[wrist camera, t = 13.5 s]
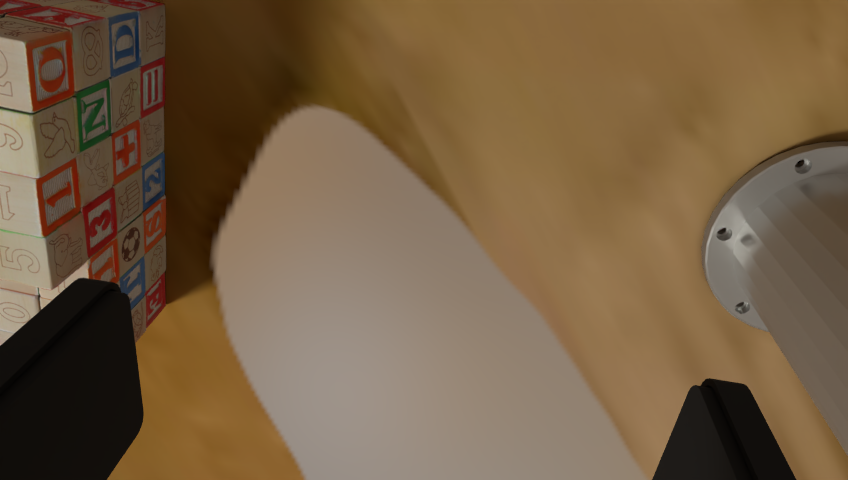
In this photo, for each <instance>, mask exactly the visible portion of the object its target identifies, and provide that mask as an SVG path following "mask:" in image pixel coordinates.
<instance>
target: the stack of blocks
mask: <svg viewBox="0 0 848 480" xmlns="http://www.w3.org/2000/svg"><path fill="white" fill-rule="evenodd" d="M164 105H165V5H164V4H162V3H158V2H153V1H148V0H0V345H2V344H3V343H4V342H5V341H6V340H7V339H8V338H10V337H11V336H12V335H13V334H14V333H15V332H16V331H18V330H19V329H20V328H21V327H22V326H23V325H24V324H26V323H27V322H28V321H29V320H30V319H31V318H32V317H34V316H35V315H36V314H37V313H38V312H39V311H40V310H42V309H43V308H44V307H45V306H46V305H47V304H48V303H50V302H51V301H52V300H53V299H54V298H55V297H56V296H57V295H59V294H60V293H61V292H62V291H63V290H64V289H65V288H67V287H68V286H69V285H70V284H71V283H72V282H73V281H75V280H77V279H78V278H89V279H95V280H102V281H108V282H114V283H116V284H118V285H119V287H120V289H121V293H125V294H127V295H128V296H129V299H130V305H131V313H132V322H133V330H134V338H135V343H136V342H137V340H138V339H139V338H140V337H141V336H142V335H143V333H144V332H145V331H146V328H147V327H148V326H149V325H150V324H151V323H152V321H153V320H154V319H155V318H156V317H157V316H158V314H159V313H160V312H161V311H162V309H163V308H164V307H165V306H166V299H165V270H166V236H165V233H166V196H165V194H164V193H165V154H164Z"/></svg>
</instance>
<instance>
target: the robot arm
mask: <svg viewBox="0 0 848 480" xmlns="http://www.w3.org/2000/svg"><path fill="white" fill-rule="evenodd" d="M800 160H801V162H800V163H799V164H797V162H798V161H800ZM796 164H797V165H796ZM722 228H723V229H722ZM720 229H722V230H721V231H719V230H720ZM701 248H702V266H703V270H704V274H705V277H706V280H707V282H708V284H709V286H710V288H711V290H712V292H713V294H714V295H715V297H716V298H717V299H718V301H719V302H720V303H721V305H722V306H723V307H724V308H725V309H726V310H727V311H728V312H729V313H730V314H731V315H733V316H734V317H735V318H737V319H739V320H741V321H742V322H744V323H746V324H748V325H750V326H752V327H755V328H758V329H761V330H764V331H767V332H770V334H771V335H772V337H773V339H774V340H775V342H776V343H777V345H778V346H779V348H780V350H781V351H782V353H783V354H784V356H785V357H786V359H787V361H788V362H789V364H790V365H791V367H792V369H793V370H794V372H795V373H796V375H797V376H798V378H799V380H800V381H801V383H802V384H803V386H804V388H805V389H806V391H807V392H808V394H809V395H810V397H811V399H812V400H813V402H814V403H815V405H816V406H817V408H818V410H819V411H820V413H821V414H822V416H823V418H824V419H825V421H826V422H827V424H828V425H829V427H830V429H831V430H832V432H833V433H834V435H835V437H836V438H837V440H838V441H839V443H840V444H841V446H842V448H843V449H844V451H845V452H846V454H847V455H848V141H841V142H821V143H816V144H811V145H806V146H801V147H798V148H795V149H792V150H789V151H787V152H784V153H781V154H778V155H776V156H775V157H773V158H771V159H769V160H767V161H765V162H763V163H762V164H760V165H758V166H756V167H755V168H754V169H752V170H751V171H750V172H748V173H747V174H746V175H745V176H743V177H742V178H741V179H739V180H738V181H737V182H736V183H735V184H734V185H733V186H732V188H731V189H730V190H729V191H728V192H727V193H726V194H725V195H724V196H723V198H722V199H721V201H720V202H719V203H718V205H717V206H716V208H715V209H714V211H713V212H712V215H711V217H710V219H709V222H708V224H707V226H706V229H705V232H704V237H703V242H702V247H701ZM142 422H143V404H142V396H141V387H140V379H139V371H138V363H137V355H136V346H135V338H134V330H133V322H132V313H131V305H130V299H129V296H128V295H127V294H125V293H121V289H120V287H119V285H118V284H116V283H114V282H108V281H102V280H95V279H89V278H78V279H77V280H75V281H73V282H72V283H71V284H70V285H69V286H68V287H67V288H65V289H64V290H63V291H62V292H61V293H60V294H59V295H57V296H56V297H55V298H54V299H53V300H52V301H51V302H50V303H48V304H47V305H46V306H45V307H44V308H43V309H42V310H40V311H39V312H38V313H37V314H36V315H35V316H34V317H32V318H31V319H30V320H29V321H28V322H27V323H26V324H24V325H23V326H22V327H21V328H20V329H19V330H18V331H16V332H15V333H14V334H13V335H12V336H11V337H10V338H8V339H7V340H6V341H5V342H4V343H3V344H2V345H0V480H107V478H108V477H109V475H110V474H111V472H112V471H113V470H114V468H115V467H116V465H117V464H118V462H119V461H120V459H121V458H122V456H123V455H124V454H125V452H126V451H127V449H128V448H129V446H130V445H131V443H132V442H133V440H134V439H135V438H136V436H137V434H138V433H139V431H140V428H141V425H142ZM652 480H796V478H795V476H794V474H793V472H792V470H791V469H790V467H789V465H788V463H787V461H786V459H785V457H784V455H783V453H782V451H781V449H780V447H779V445H778V443H777V441H776V439H775V438H774V436H773V434H772V432H771V430H770V428H769V426H768V424H767V422H766V420H765V418H764V416H763V414H762V412H761V410H760V409H759V407H758V405H757V403H756V401H755V399H754V397H753V395H752V393H751V391H750V390H749V388H748V387H747V386H746V385H744V384H741V383H735V382H728V381H722V380H716V379H710V378H709V379H706V380H705V381H704V382H703V383H702V384H701V386H696V385H695V386H692V387H691V388H690V390H689V392H688V394H687V397H686V399H685V402H684V404H683V407H682V409H681V411H680V414H679V416H678V419H677V421H676V424H675V426H674V428H673V431H672V433H671V436H670V438H669V440H668V443H667V445H666V448H665V450H664V453H663V455H662V457H661V460H660V462H659V465H658V467H657V470H656V472H655V474H654V477H653V479H652Z"/></svg>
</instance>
